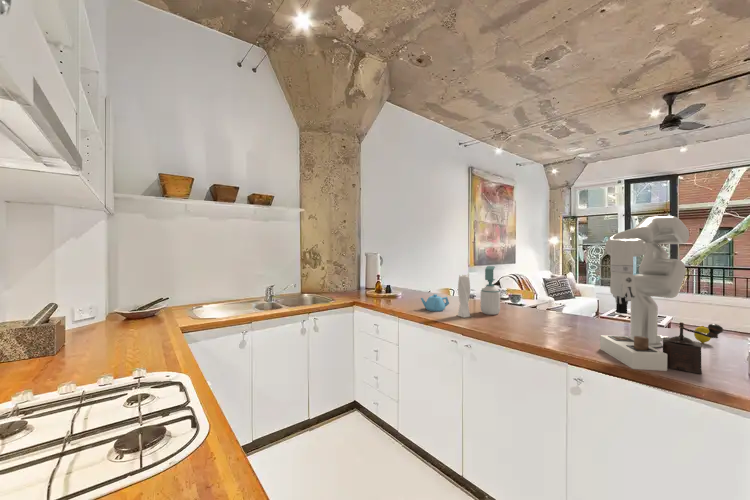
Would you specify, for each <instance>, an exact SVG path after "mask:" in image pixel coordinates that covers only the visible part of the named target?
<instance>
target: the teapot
mask: <svg viewBox="0 0 750 500" xmlns="http://www.w3.org/2000/svg"><path fill="white" fill-rule="evenodd" d="M420 300H421V302H422V304H423V306H424V308H425V310H427V311H430V312H443V311H445V309H446V307H447V306H448V305H450V302H449V299H448V297H447V296H445V297H441V296H438V294H435V293H434V294H433V295H431V296H430V295H429V297H428V298H427V299H426V301H425V299H424V298H423V297H420ZM444 300H445V301H444Z"/></svg>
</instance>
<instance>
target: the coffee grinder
mask: <svg viewBox="0 0 750 500" xmlns="http://www.w3.org/2000/svg"><path fill="white" fill-rule="evenodd" d="M678 325H679V326H678V328H679V335H677V336H676V335H675V336H672V337H671V336H670V337H669V336H663V337H664V338H663V341H662V352H664V353H666V354H667V369H670V370H676V371H679V372H680V371H681V372H686V373H693V374H694V373H695V374H700V375H701V374H702V373H703V370H702V345H701V344H702V343H701V342H700V341H697V340H695V341H694V340H692V339H690V338H688V337H687V336H686V337H685V336H684V330H685V331H687V332H691V333H693V334H694V333H697V334H700V335H704V336H706V337H710V338H711V339H719V334H721V333H723V332H724V328H723V327H722V326H721V325H719V324H716V323H710V324H708V325H707V328H708V329H709V333H708V334H705V333H702V332H698V331H695V329H690V328H687V327H685V323H684V322H682V321H681V322H679V324H678Z"/></svg>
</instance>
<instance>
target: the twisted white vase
mask: <svg viewBox="0 0 750 500" xmlns="http://www.w3.org/2000/svg"><path fill="white" fill-rule="evenodd" d="M470 281H471V280H470V273H469V272H468V273H467V274H462V275H460V274H459V275H458V281H457V296H458V301H459V304H458V305H459V307H458V313H457V315H455V317H457V316H458V317H457V318H462V319H467V318H472V317H473V315H470V314H471V313H470V305H469V301H470V295H471V282H470Z"/></svg>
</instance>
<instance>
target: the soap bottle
mask: <svg viewBox="0 0 750 500" xmlns="http://www.w3.org/2000/svg"><path fill="white" fill-rule="evenodd" d="M495 266H496V265H495ZM495 266H493V265H487V266H486V267H485V269H484V279H485V281H487V282H488V283H487V284H486V285H485V287H483V288H482V289H481V290H480V311H481V312H482V313H483V314H485V315H489V316H494V315H495V316H496V315H498V314H499V313H500V312H501V292H500V290H499V289H498V288H497V287H496V286H495V284H493V283H494V281H495V280H496V278H494V270H495V268H496V267H495Z"/></svg>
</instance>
